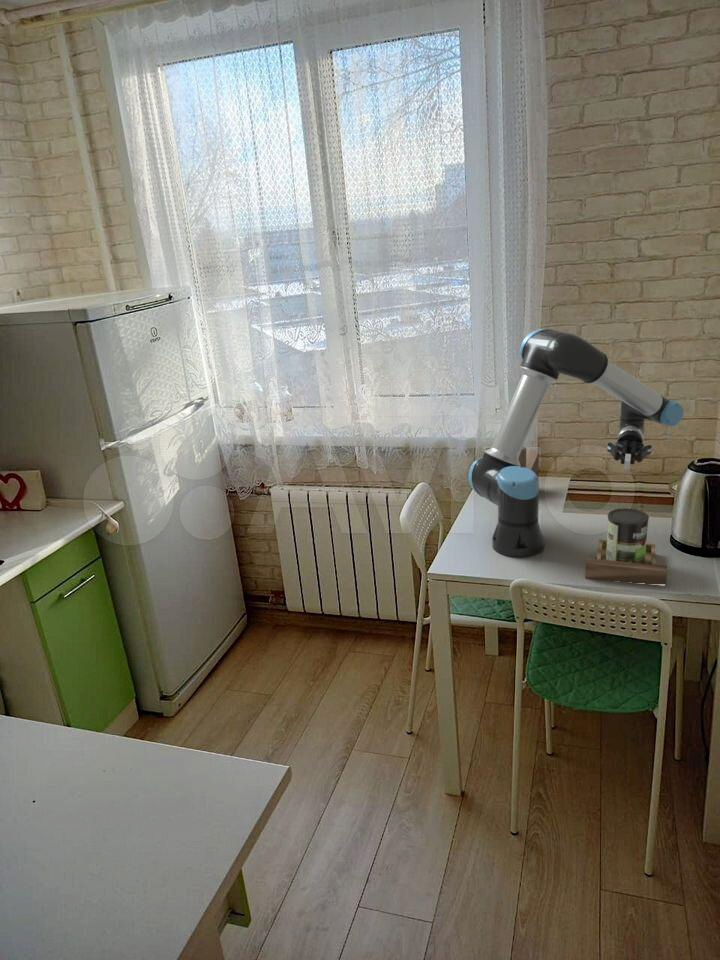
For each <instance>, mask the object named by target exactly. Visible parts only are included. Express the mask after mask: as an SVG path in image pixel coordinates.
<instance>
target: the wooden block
mask: <svg viewBox="0 0 720 960" xmlns="http://www.w3.org/2000/svg"><path fill="white" fill-rule="evenodd" d="M518 460H519V462H520V467H521V468H523V467H525V468H528V469H530V470H532V471H533V472H535V473H536V475H537V477H538V478H539V470H540V469H539V468H540V466H539V464H540V452H539V451H533V450H529V452H528V455H527V448H526V447H525V446H523V448H522V450H521V452H520V455H519V457H518Z"/></svg>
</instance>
